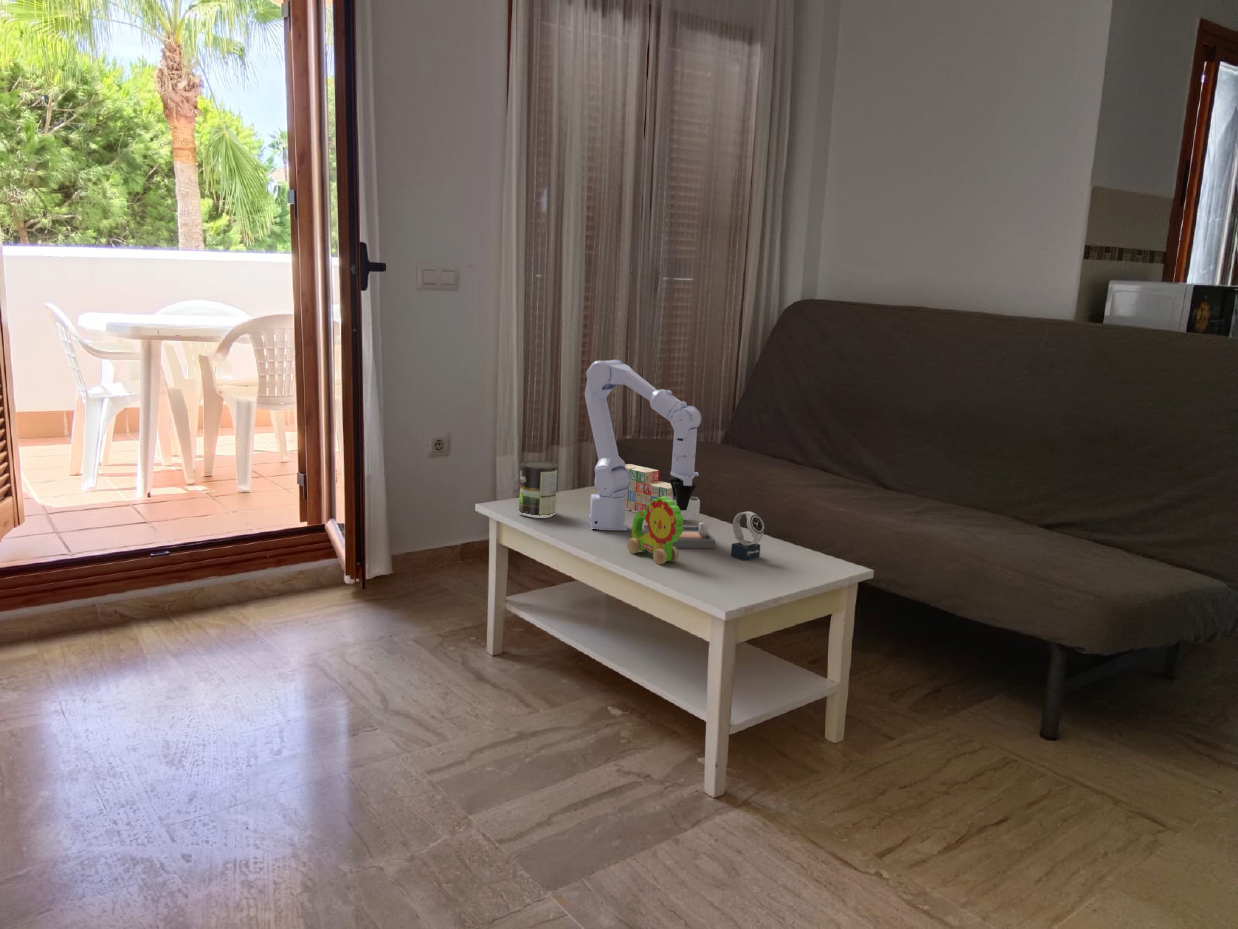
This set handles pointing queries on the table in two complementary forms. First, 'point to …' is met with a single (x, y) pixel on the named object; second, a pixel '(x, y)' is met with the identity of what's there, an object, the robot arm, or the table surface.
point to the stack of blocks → (644, 487)
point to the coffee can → (538, 487)
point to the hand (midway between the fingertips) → (680, 508)
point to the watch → (743, 547)
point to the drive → (689, 508)
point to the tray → (692, 537)
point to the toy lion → (658, 530)
